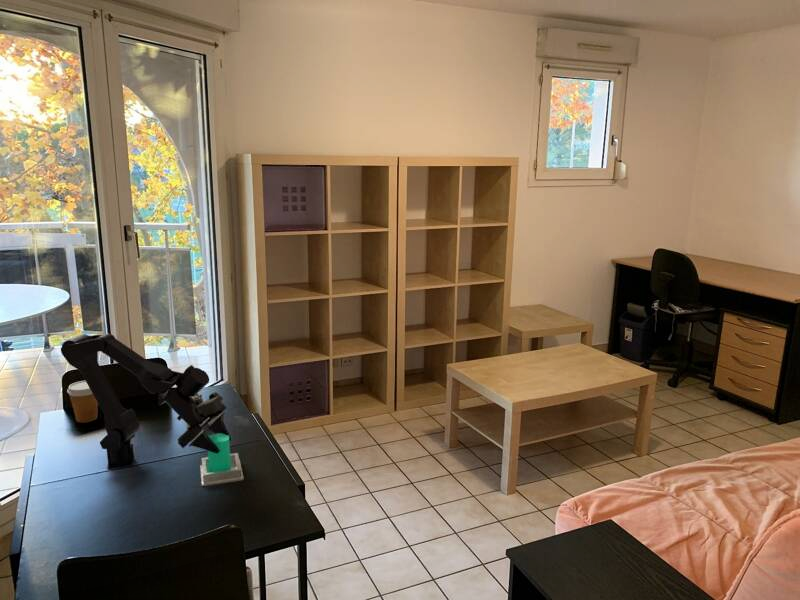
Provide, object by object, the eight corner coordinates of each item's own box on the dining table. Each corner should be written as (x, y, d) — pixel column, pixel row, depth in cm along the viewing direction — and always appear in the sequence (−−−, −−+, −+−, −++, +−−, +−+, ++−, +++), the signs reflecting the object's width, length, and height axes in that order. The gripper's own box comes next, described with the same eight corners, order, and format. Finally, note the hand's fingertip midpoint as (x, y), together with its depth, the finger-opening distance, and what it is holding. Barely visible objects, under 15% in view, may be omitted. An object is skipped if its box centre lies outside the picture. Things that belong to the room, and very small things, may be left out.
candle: (220, 480, 166) (217, 439, 163) (204, 474, 169) (201, 434, 166) (235, 470, 171) (233, 431, 168) (220, 464, 174) (217, 426, 171)
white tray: (201, 486, 163) (200, 471, 162) (199, 457, 179) (198, 443, 178) (243, 480, 167) (243, 465, 166) (237, 451, 182) (237, 438, 181)
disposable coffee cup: (94, 425, 198) (90, 390, 195) (64, 424, 198) (60, 390, 195) (108, 413, 207) (104, 380, 204) (80, 412, 207) (76, 379, 204)
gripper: (186, 401, 156) (228, 445, 157) (218, 376, 174) (256, 415, 175) (159, 426, 159) (201, 469, 160) (194, 399, 177) (231, 437, 178)
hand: (224, 446), depth 168 cm, fingers open, 7 cm apart
